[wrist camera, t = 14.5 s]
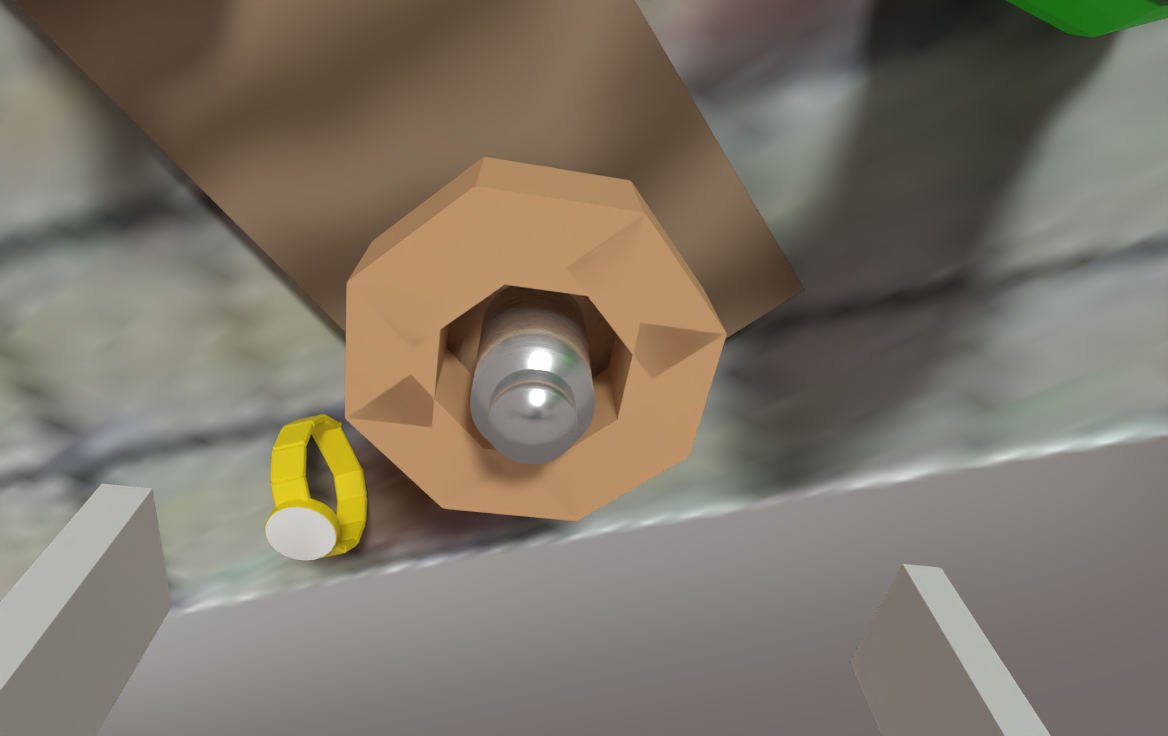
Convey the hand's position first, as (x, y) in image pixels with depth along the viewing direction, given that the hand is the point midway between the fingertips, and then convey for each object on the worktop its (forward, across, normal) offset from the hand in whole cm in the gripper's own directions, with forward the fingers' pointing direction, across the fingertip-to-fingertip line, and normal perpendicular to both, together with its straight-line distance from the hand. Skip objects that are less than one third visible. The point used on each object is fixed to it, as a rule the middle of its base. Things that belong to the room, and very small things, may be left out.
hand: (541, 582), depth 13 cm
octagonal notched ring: (+11, 0, 0) cm, 11 cm away
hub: (+17, 0, 0) cm, 17 cm away
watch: (+18, -8, -12) cm, 23 cm away
